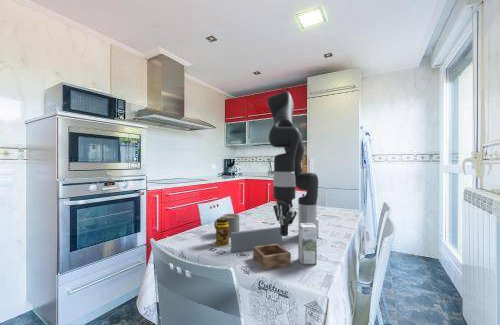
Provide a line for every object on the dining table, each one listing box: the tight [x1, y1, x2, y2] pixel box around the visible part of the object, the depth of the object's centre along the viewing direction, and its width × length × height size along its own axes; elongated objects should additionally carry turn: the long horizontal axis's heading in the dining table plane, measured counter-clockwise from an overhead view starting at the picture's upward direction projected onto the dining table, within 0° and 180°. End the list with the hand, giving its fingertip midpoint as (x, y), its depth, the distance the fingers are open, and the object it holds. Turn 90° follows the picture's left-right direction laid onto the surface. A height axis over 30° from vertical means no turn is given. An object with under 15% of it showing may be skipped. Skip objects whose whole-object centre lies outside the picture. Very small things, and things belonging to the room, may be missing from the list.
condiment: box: [210, 217, 231, 248], centre depth 107 cm, size 7×8×12 cm
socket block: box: [252, 243, 292, 271], centre depth 87 cm, size 11×11×4 cm
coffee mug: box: [213, 213, 240, 238], centre depth 121 cm, size 13×10×10 cm
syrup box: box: [297, 223, 318, 266], centre depth 87 cm, size 6×6×14 cm
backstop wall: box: [230, 226, 283, 253], centre depth 101 cm, size 24×2×8 cm, turn 110°
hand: (284, 235), depth 77 cm, fingers closed
